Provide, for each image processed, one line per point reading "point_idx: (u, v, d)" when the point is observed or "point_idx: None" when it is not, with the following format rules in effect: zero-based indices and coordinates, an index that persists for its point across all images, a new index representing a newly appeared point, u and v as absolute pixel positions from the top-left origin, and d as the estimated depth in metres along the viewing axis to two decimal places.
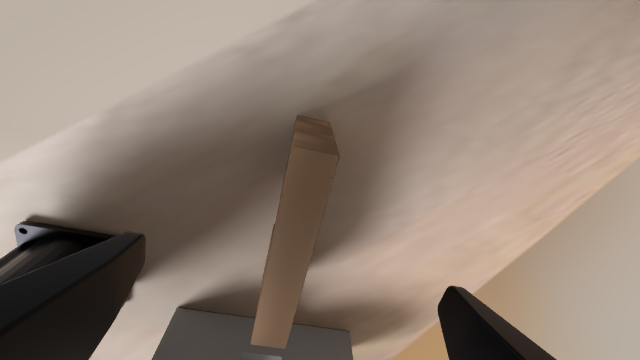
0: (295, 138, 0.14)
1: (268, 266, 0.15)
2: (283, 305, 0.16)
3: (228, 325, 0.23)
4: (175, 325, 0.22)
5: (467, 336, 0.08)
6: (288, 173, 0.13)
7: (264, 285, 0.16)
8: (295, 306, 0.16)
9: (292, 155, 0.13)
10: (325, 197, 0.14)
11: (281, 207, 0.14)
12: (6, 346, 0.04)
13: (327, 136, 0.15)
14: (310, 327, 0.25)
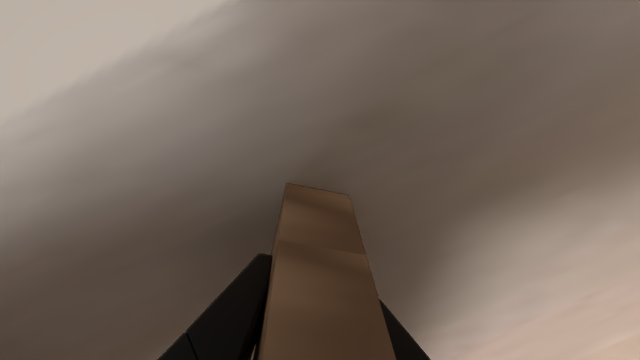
0: (273, 304, 0.05)
1: None
2: None
3: None
4: None
5: None
6: None
7: None
8: None
9: None
10: None
11: None
12: None
13: (353, 257, 0.07)
14: None
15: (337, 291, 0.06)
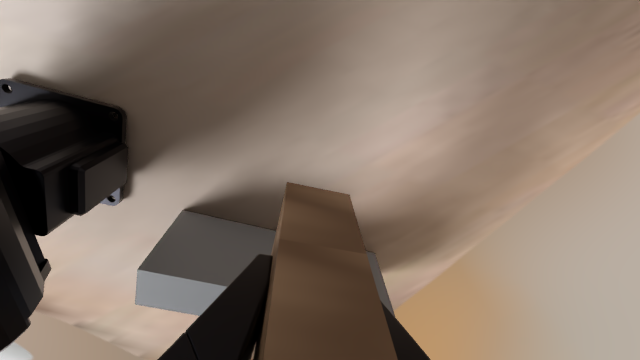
0: (274, 303, 0.05)
1: None
2: None
3: (241, 231, 0.20)
4: (181, 223, 0.19)
5: None
6: None
7: None
8: None
9: None
10: None
11: None
12: None
13: (353, 256, 0.07)
14: None
15: (338, 290, 0.06)
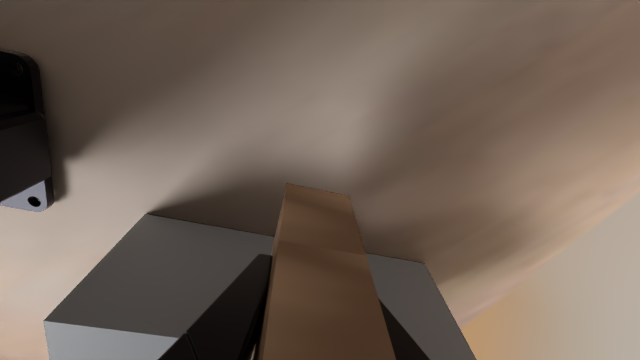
0: (273, 305, 0.05)
1: None
2: None
3: (231, 242, 0.14)
4: (138, 235, 0.13)
5: None
6: None
7: None
8: None
9: None
10: None
11: None
12: None
13: (353, 257, 0.07)
14: None
15: (337, 291, 0.06)
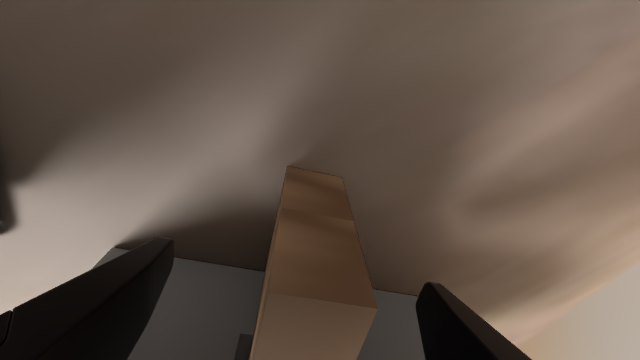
0: (277, 249, 0.06)
1: None
2: None
3: (215, 282, 0.11)
4: None
5: (441, 332, 0.08)
6: (259, 341, 0.06)
7: None
8: None
9: (267, 308, 0.05)
10: None
11: None
12: (61, 353, 0.05)
13: (342, 222, 0.08)
14: (374, 292, 0.13)
15: (328, 244, 0.07)
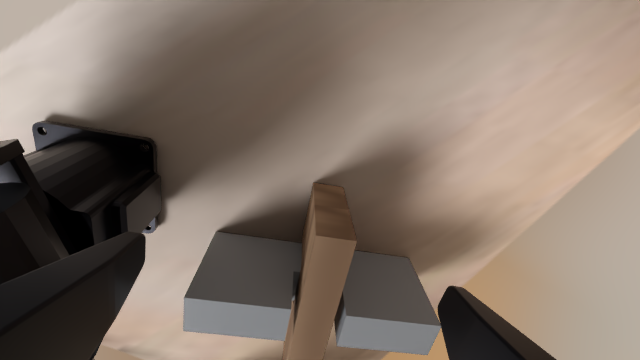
0: (316, 221, 0.15)
1: (295, 331, 0.17)
2: None
3: (275, 248, 0.21)
4: (216, 246, 0.20)
5: (467, 336, 0.08)
6: (312, 256, 0.15)
7: (292, 346, 0.17)
8: None
9: (315, 242, 0.14)
10: (345, 273, 0.15)
11: (306, 283, 0.15)
12: (6, 346, 0.04)
13: (343, 210, 0.17)
14: (365, 253, 0.22)
15: (337, 219, 0.16)
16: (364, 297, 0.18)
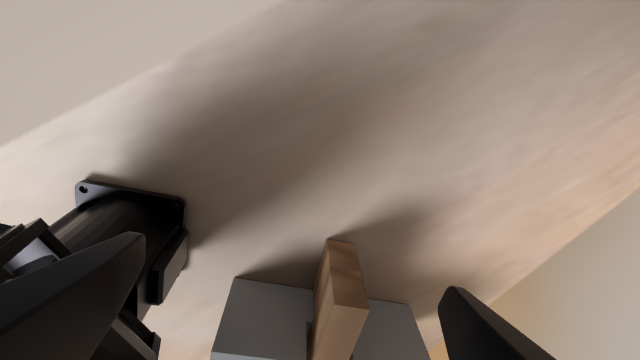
0: (333, 288, 0.17)
1: None
2: None
3: (288, 295, 0.22)
4: (236, 294, 0.21)
5: (467, 336, 0.08)
6: (328, 321, 0.17)
7: None
8: None
9: (332, 309, 0.16)
10: (357, 335, 0.17)
11: (321, 342, 0.17)
12: (6, 346, 0.04)
13: (355, 272, 0.19)
14: (370, 300, 0.24)
15: (351, 284, 0.18)
16: (370, 349, 0.20)
